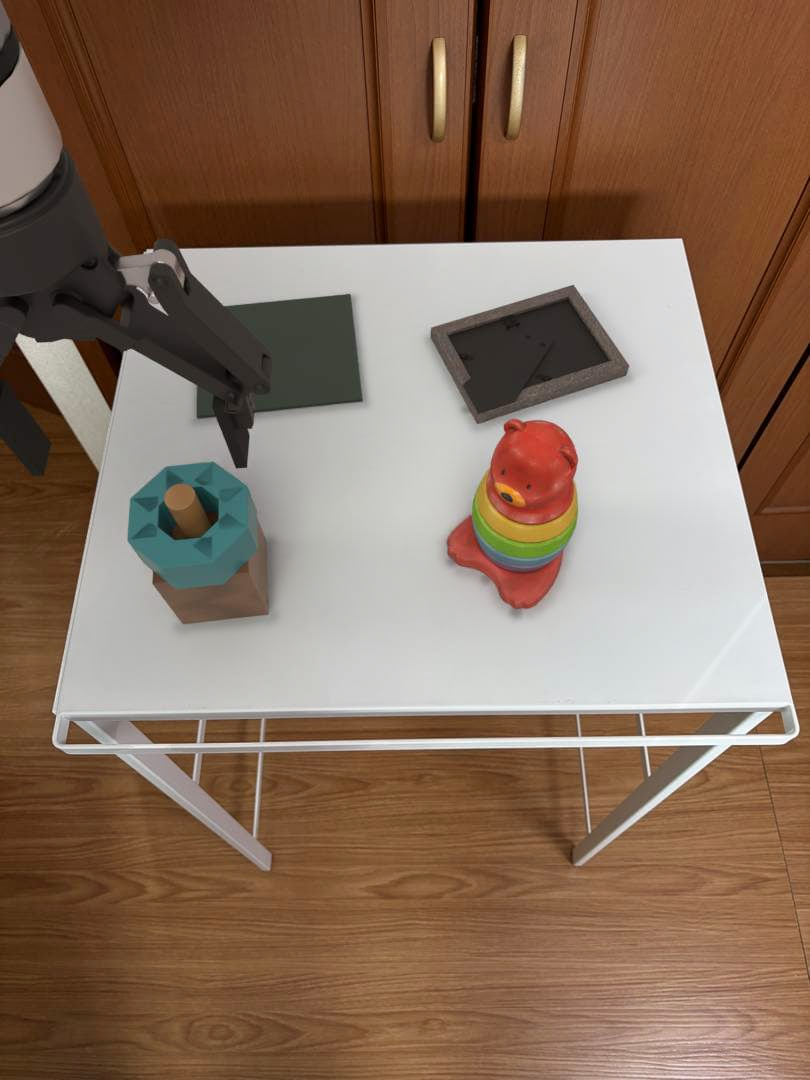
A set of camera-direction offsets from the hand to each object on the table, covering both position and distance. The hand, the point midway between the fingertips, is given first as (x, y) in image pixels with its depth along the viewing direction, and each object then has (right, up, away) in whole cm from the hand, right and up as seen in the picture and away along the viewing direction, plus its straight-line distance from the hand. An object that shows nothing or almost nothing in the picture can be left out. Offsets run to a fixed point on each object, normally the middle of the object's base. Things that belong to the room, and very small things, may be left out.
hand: (142, 455), depth 50 cm
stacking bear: (+28, -7, +22) cm, 37 cm away
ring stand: (+1, -10, +21) cm, 23 cm away
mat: (+3, +15, +34) cm, 38 cm away
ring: (0, -5, +13) cm, 14 cm away
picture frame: (+32, +15, +34) cm, 49 cm away
